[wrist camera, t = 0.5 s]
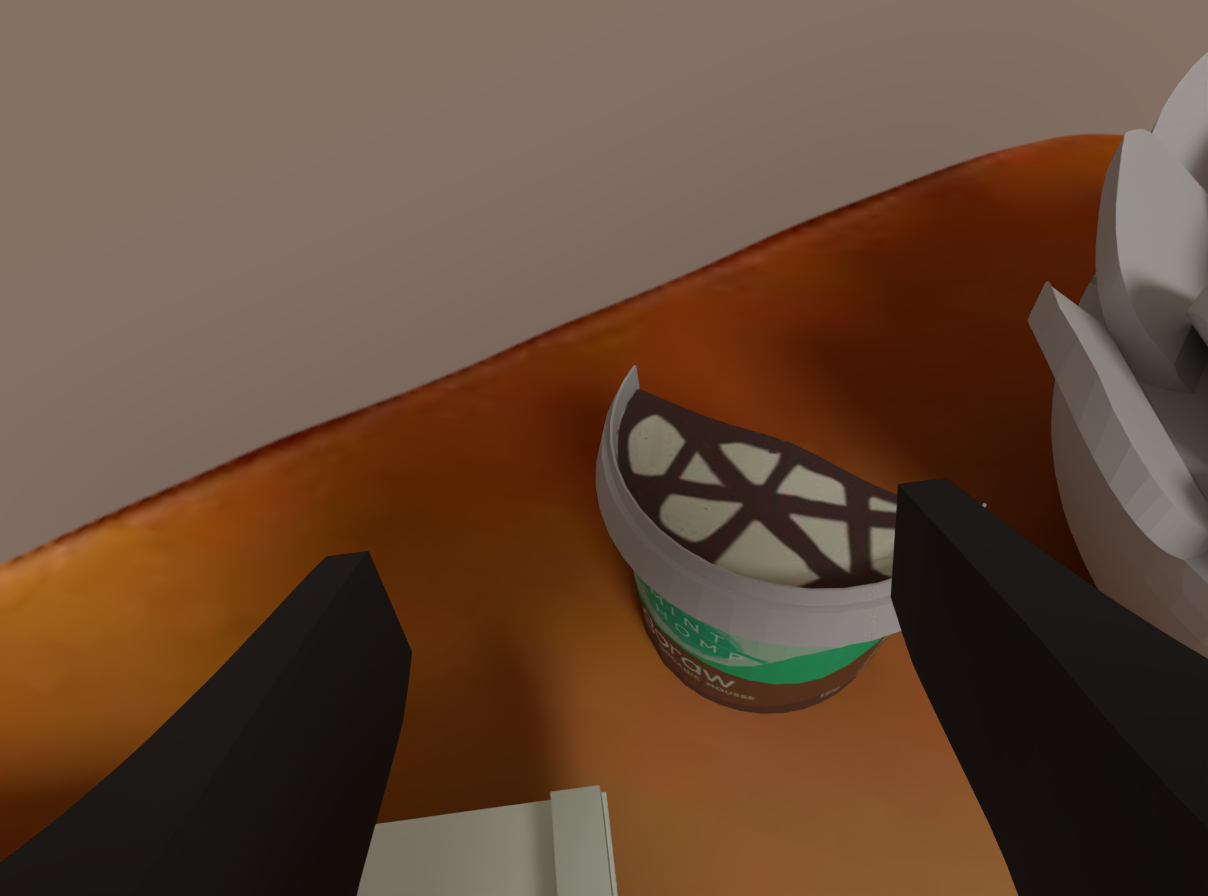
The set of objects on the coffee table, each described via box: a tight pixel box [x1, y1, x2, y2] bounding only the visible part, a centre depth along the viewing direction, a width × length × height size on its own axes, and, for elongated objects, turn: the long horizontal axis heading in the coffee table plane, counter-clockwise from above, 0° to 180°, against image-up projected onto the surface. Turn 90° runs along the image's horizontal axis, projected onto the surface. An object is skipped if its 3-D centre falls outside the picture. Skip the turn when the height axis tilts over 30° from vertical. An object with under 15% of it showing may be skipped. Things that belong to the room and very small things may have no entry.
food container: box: [596, 365, 987, 714], centre depth 25 cm, size 12×6×10 cm, turn 58°
